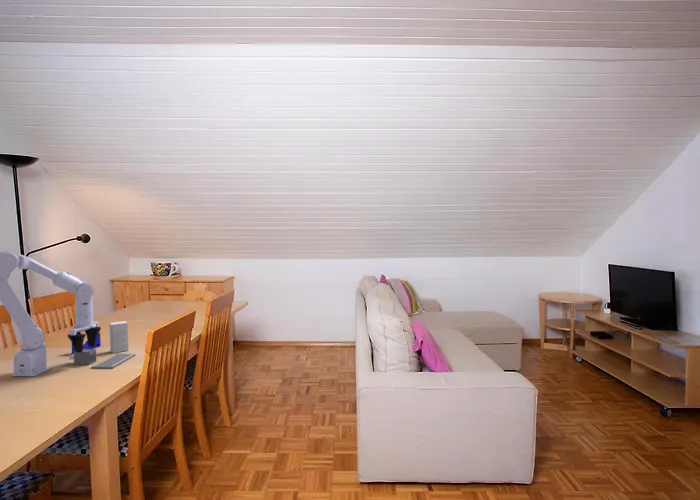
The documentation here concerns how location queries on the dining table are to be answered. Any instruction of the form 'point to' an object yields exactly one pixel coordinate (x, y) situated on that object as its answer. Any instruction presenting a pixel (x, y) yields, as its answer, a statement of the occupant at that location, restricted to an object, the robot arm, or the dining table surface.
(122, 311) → the dining table surface
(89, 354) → the plug
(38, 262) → the robot arm
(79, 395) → the dining table surface
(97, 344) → the blue notched bracket
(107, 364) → the felt mat
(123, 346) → the skincare box
